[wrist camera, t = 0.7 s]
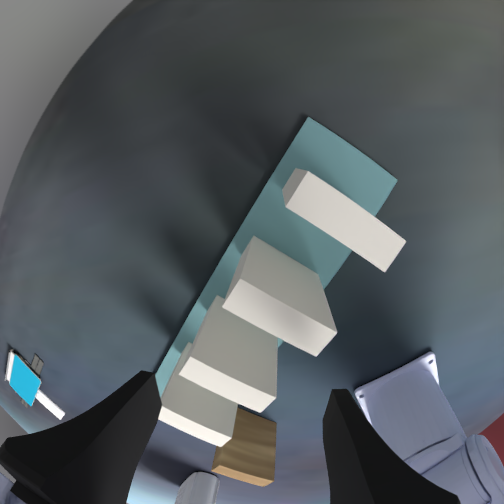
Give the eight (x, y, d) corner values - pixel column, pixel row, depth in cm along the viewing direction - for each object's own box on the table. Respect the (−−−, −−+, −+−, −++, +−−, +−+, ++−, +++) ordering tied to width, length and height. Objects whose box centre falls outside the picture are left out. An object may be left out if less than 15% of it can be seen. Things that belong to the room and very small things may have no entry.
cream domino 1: (217, 294, 20) (190, 356, 13) (277, 328, 20) (276, 397, 14) (207, 311, 20) (178, 374, 14) (266, 342, 21) (260, 412, 14)
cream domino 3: (253, 235, 18) (240, 278, 12) (318, 274, 19) (337, 332, 12) (241, 255, 19) (221, 307, 12) (304, 292, 19) (316, 356, 12)
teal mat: (307, 117, 16) (308, 116, 16) (395, 179, 17) (397, 180, 16) (144, 394, 24) (143, 397, 24) (205, 425, 25) (205, 427, 25)
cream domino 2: (188, 341, 21) (159, 404, 15) (243, 370, 22) (231, 438, 15) (181, 353, 22) (152, 415, 15) (234, 381, 22) (220, 447, 16)
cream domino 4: (295, 168, 17) (308, 170, 10) (360, 211, 17) (406, 241, 10) (282, 189, 17) (285, 206, 11) (347, 232, 18) (384, 272, 11)
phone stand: (53, 428, 33) (49, 434, 31) (6, 381, 31) (1, 386, 29) (81, 392, 27) (75, 400, 25) (15, 326, 25) (8, 332, 24)
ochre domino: (231, 404, 24) (219, 465, 17) (276, 423, 24) (273, 481, 18) (223, 412, 24) (211, 470, 18) (267, 430, 25) (263, 486, 18)
